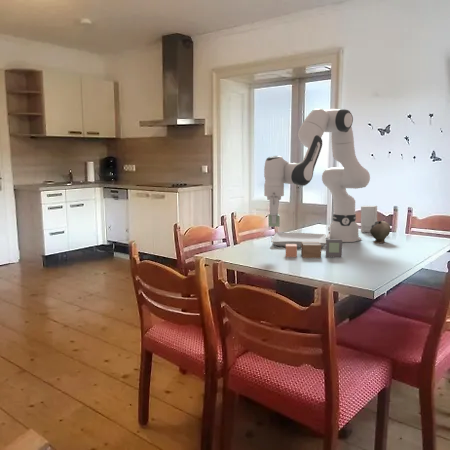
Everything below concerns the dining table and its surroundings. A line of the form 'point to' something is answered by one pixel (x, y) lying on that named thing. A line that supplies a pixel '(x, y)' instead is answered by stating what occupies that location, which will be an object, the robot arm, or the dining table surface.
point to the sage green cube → (276, 221)
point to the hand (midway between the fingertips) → (274, 222)
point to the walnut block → (311, 249)
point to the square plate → (298, 238)
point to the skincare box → (368, 217)
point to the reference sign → (333, 248)
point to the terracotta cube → (291, 250)
